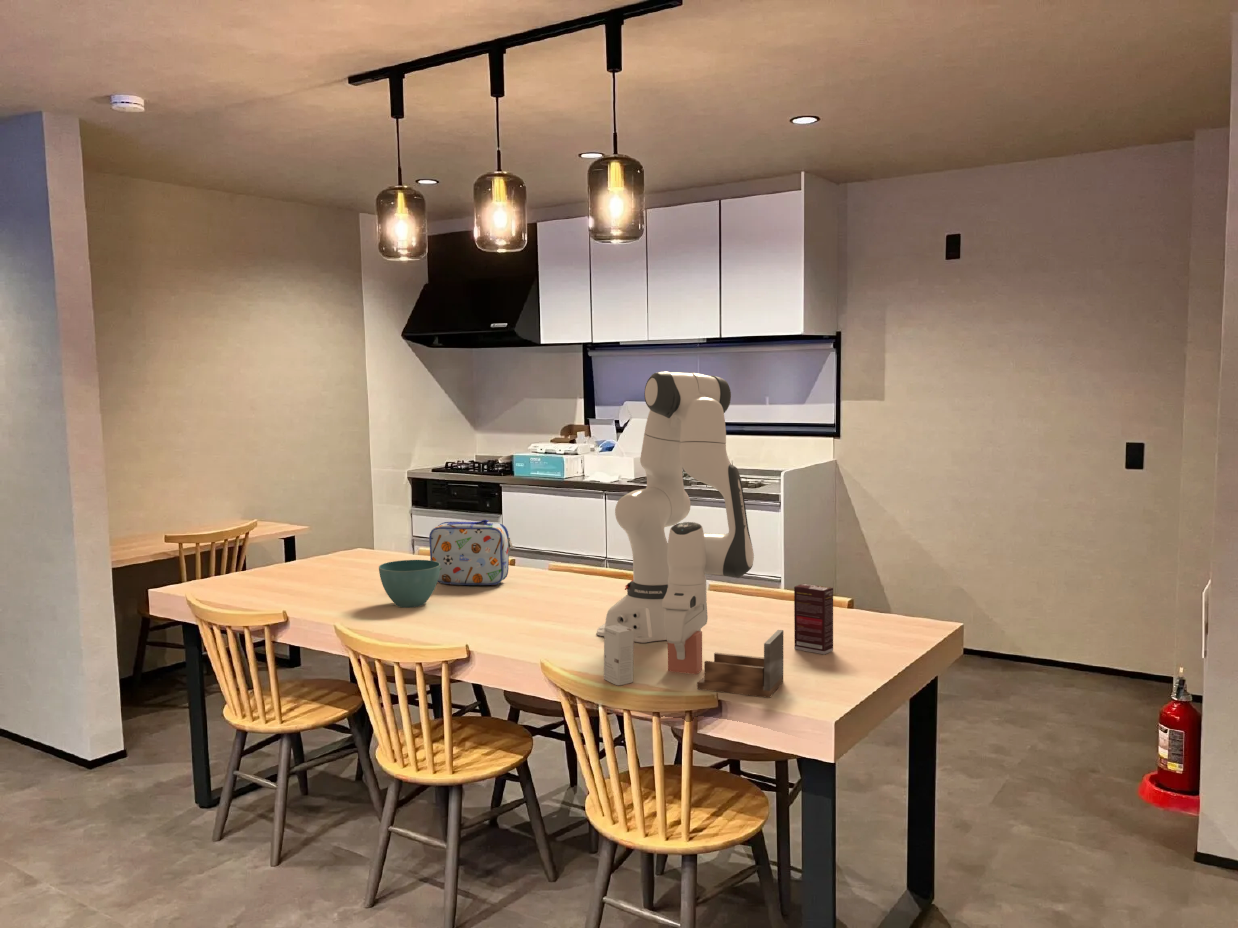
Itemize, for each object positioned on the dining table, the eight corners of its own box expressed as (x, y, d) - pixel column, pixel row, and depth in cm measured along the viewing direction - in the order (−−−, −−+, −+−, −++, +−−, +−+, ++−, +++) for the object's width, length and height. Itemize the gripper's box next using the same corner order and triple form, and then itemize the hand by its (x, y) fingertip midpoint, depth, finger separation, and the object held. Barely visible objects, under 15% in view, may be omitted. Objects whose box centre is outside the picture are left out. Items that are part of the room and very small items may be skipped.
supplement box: (834, 650, 234) (834, 587, 233) (824, 655, 230) (824, 590, 229) (802, 644, 239) (803, 582, 238) (793, 649, 236) (793, 586, 234)
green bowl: (448, 598, 298) (447, 559, 297) (431, 612, 280) (429, 570, 279) (391, 597, 299) (390, 559, 298) (371, 611, 281) (369, 570, 280)
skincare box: (602, 679, 213) (602, 626, 212) (619, 675, 216) (618, 623, 215) (618, 686, 208) (617, 632, 207) (635, 682, 211) (634, 628, 210)
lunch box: (515, 581, 323) (514, 516, 321) (508, 587, 312) (506, 521, 310) (437, 579, 326) (435, 516, 324) (427, 586, 316) (425, 520, 314)
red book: (667, 671, 219) (667, 632, 218) (673, 666, 223) (673, 628, 222) (696, 674, 216) (696, 635, 216) (702, 669, 220) (702, 631, 219)
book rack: (697, 688, 206) (696, 636, 205) (714, 673, 217) (713, 623, 216) (769, 697, 200) (769, 643, 199) (783, 681, 211) (783, 630, 210)
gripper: (688, 584, 229) (689, 640, 230) (659, 602, 210) (660, 663, 211) (713, 585, 227) (714, 642, 228) (686, 604, 208) (687, 666, 209)
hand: (688, 653), depth 219 cm, fingers open, 8 cm apart
